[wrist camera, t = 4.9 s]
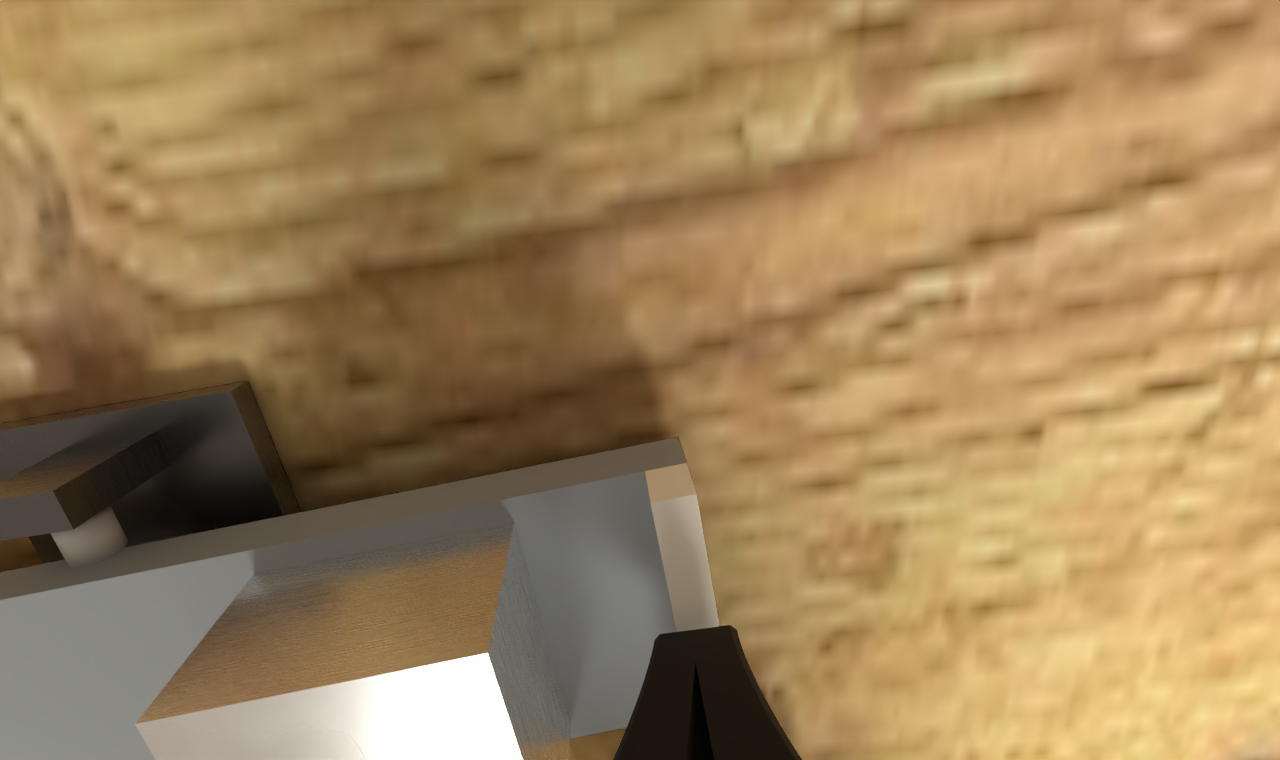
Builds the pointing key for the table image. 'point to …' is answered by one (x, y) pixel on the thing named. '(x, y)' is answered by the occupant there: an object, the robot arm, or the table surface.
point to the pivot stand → (142, 468)
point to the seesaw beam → (228, 557)
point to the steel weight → (374, 662)
